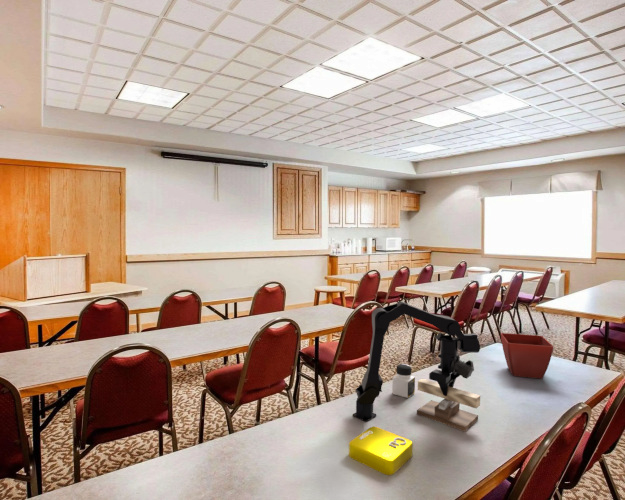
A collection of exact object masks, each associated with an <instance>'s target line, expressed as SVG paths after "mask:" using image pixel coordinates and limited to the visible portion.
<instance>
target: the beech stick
mask: <svg viewBox="0 0 625 500" xmlns="http://www.w3.org/2000/svg"><path fill="white" fill-rule="evenodd" d="M417 391H419V392H423V393H427V394H429V395H432V396H435V397H439V398H441V399H448V400H451V401H454V402H457V403H460V405H464V406H467V407H470V408H473V409H477V408H479V407H480V406H481V395H480V394H476V393H473V392H469V391H466V390H462V389H459V388H456V387H454V386H453V387H448V393H447V396H444V395H443V393H442V390H441V388H440V386H439V384H438V382H437V381H433V380H430V379H425V378H421V379H419V380H418V381H417Z"/></svg>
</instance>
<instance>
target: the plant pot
mask: <svg viewBox="0 0 625 500" xmlns="http://www.w3.org/2000/svg"><path fill="white" fill-rule="evenodd" d="M500 339H501V341H500V342H501V346H502V350H503V355H504V358H505V362H506V365H507V368H508V370H509V372H510V373H511V374H512V376H513V377H521V378H533V379H540V380H541V379H543V378H544V376H545V375H546V372H547V370H548V367H549V365H550V362H551V359H552V355H553V352H554V351H553V350H554V345H552V343H551V342H549V341H548V340H547V339H546V338H545V337H544V336H542V335H534V334H522V333H521V334H519V333H508V332H507V333H505V332H501V333H500Z"/></svg>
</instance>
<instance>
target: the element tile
mask: <svg viewBox="0 0 625 500" xmlns="http://www.w3.org/2000/svg"><path fill="white" fill-rule="evenodd" d="M413 444H414V443H413V441H412V440H411V439H408V438H406V437H404V436H401V435H398V434H396V433H394V432H390V431H388V430H386V429H383V428H380V427H378V426H371V427H369V428H368V429H366V430H364V431H363V432H361V433H360V434H359V435H357V436H356V437H354V438H353V439H352V440H350V441H349V444H348V456H349V458H350V459H352V460H354V461H357V462H358V463H360V464H362V465H365V466H367V467H368V468H370V469H373V470H375V471H377V472H379V473H381V474H382V475H383V474H384V475H387V476H392V475H394V474H395V473H396V472H397V471H399V469H401V468H402V467H403V466H404V465H405V464H406V463H407V462H408V461H409V460H410V459H411V458H412V457H413V451H414V450H413V446H414V445H413Z"/></svg>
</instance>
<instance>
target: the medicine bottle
mask: <svg viewBox="0 0 625 500" xmlns="http://www.w3.org/2000/svg"><path fill="white" fill-rule="evenodd" d="M391 380H392V385H391V386H392V387H391V390H392V391H391V392H392V395H395V396H399V397H401V398H406V399H409V398H410V397H411V396H412V395H414V394H415V391H416V389H415V388H416V387H415V385H416V384H415V383H416V376H415V375H412V367H411V365H409V364H406V363H400V364H397V365H396V375H394V376H393V377H392V379H391Z"/></svg>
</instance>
